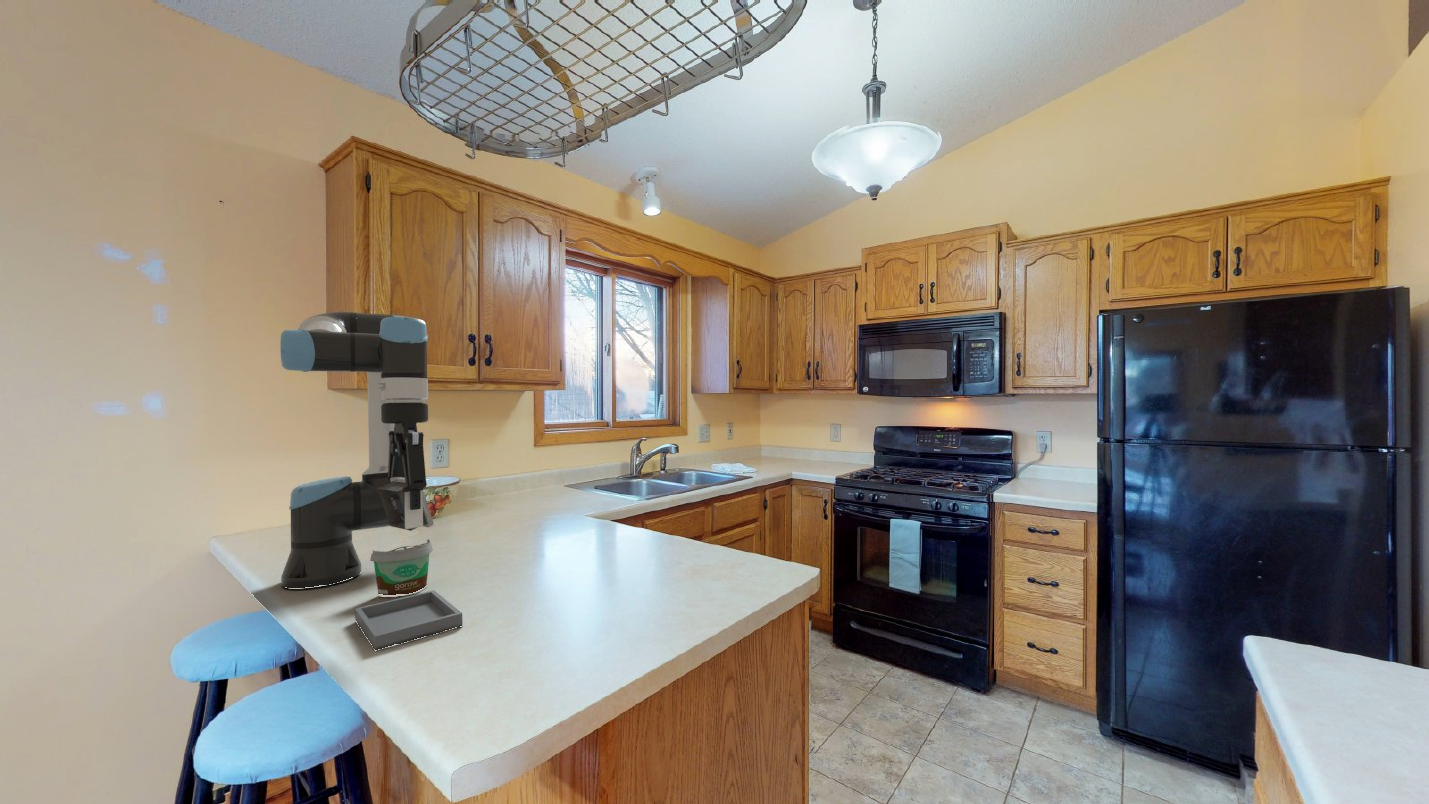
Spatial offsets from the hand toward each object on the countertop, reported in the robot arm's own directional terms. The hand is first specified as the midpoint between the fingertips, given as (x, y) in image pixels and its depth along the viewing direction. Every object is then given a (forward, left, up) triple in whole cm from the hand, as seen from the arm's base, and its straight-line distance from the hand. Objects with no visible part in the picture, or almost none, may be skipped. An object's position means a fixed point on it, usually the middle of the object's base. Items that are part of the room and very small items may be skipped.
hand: (406, 523), depth 98 cm
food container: (-19, +5, -19) cm, 27 cm away
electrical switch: (+1, 0, -1) cm, 1 cm away
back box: (0, 0, -19) cm, 19 cm away
